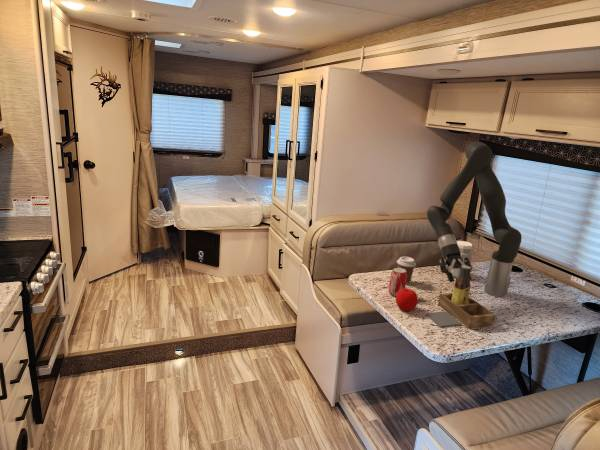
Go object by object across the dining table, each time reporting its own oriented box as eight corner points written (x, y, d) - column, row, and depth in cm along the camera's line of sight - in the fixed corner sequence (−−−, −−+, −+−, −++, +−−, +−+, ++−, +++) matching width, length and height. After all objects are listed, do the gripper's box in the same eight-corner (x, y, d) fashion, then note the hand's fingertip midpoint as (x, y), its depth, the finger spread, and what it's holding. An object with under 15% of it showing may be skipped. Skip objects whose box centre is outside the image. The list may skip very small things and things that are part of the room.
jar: (444, 271, 211) (450, 239, 206) (461, 271, 212) (468, 240, 207) (453, 279, 201) (459, 246, 196) (470, 279, 203) (478, 246, 197)
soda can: (404, 298, 176) (408, 274, 173) (388, 296, 177) (391, 271, 174) (403, 292, 183) (407, 268, 179) (388, 289, 184) (391, 265, 180)
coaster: (445, 312, 166) (446, 311, 166) (461, 325, 157) (461, 323, 157) (425, 314, 164) (425, 313, 163) (439, 327, 154) (440, 325, 154)
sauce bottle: (463, 314, 166) (472, 271, 160) (448, 310, 169) (456, 267, 163) (466, 308, 171) (475, 266, 165) (451, 304, 174) (460, 262, 168)
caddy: (460, 302, 177) (462, 292, 175) (493, 326, 158) (495, 315, 157) (437, 304, 173) (439, 294, 172) (468, 328, 155) (470, 317, 153)
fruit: (398, 301, 173) (401, 280, 170) (418, 307, 169) (422, 286, 166) (391, 309, 166) (394, 287, 163) (412, 316, 161) (416, 294, 158)
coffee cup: (403, 276, 200) (406, 254, 197) (416, 283, 193) (420, 261, 189) (390, 279, 196) (393, 256, 192) (403, 286, 188) (407, 263, 185)
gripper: (439, 243, 169) (451, 279, 162) (467, 242, 173) (480, 277, 166) (430, 250, 176) (441, 285, 168) (457, 249, 180) (469, 283, 173)
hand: (460, 281), depth 167 cm, fingers open, 8 cm apart
